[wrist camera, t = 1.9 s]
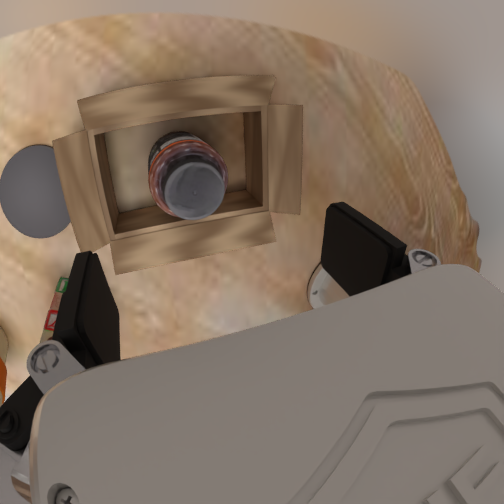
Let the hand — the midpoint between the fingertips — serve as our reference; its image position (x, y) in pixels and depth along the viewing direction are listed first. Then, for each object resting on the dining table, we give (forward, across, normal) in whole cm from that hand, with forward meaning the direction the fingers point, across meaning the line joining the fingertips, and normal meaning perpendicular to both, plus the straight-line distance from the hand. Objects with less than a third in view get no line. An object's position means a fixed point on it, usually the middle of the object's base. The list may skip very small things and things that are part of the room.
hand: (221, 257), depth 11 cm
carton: (+20, -1, 0) cm, 20 cm away
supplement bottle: (+20, -1, 0) cm, 20 cm away
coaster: (+20, +15, 0) cm, 25 cm away
